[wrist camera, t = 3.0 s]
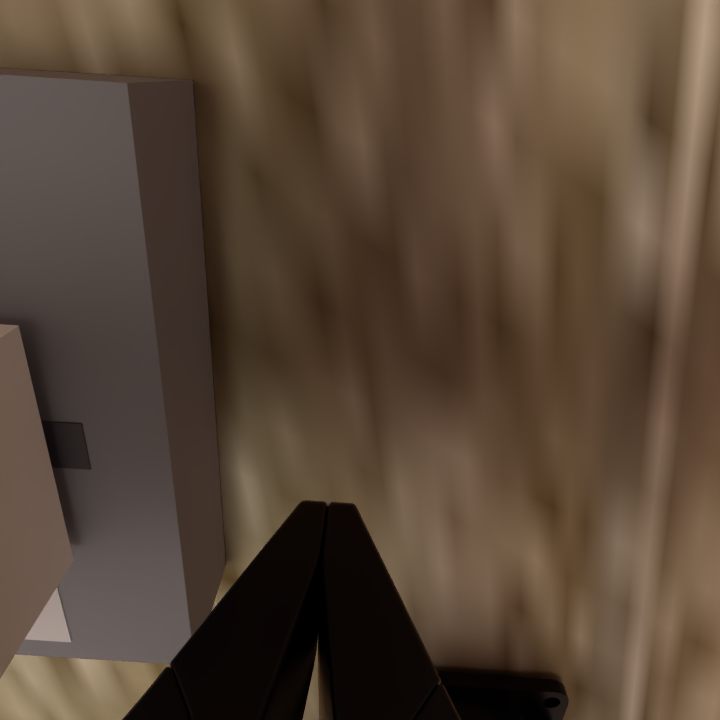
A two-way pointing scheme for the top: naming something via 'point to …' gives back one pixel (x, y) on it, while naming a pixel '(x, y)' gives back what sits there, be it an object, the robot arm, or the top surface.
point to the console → (115, 352)
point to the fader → (25, 504)
